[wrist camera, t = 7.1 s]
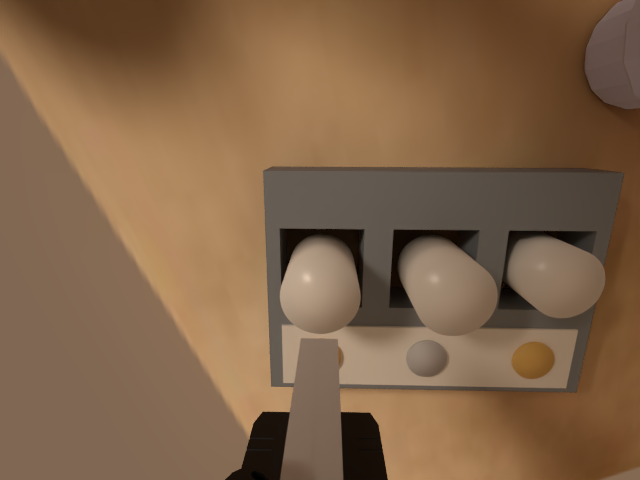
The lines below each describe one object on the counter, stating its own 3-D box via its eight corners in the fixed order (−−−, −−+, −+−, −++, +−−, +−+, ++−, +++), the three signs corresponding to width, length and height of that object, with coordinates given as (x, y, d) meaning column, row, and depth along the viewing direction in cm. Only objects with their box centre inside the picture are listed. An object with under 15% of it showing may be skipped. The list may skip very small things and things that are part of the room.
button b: (395, 295, 28) (412, 335, 22) (398, 234, 27) (418, 260, 21) (458, 295, 28) (492, 336, 22) (465, 234, 27) (502, 261, 21)
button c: (486, 283, 30) (524, 317, 24) (494, 227, 29) (535, 248, 23) (545, 284, 30) (597, 318, 24) (556, 227, 29) (612, 249, 23)
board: (278, 357, 33) (270, 390, 29) (272, 166, 29) (262, 171, 24) (547, 362, 33) (580, 396, 28) (584, 168, 28) (630, 173, 24)
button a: (290, 293, 28) (280, 333, 22) (289, 233, 27) (278, 258, 21) (353, 294, 28) (359, 334, 22) (354, 233, 27) (362, 259, 21)
